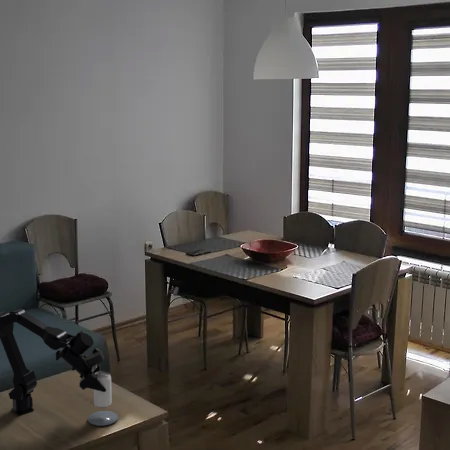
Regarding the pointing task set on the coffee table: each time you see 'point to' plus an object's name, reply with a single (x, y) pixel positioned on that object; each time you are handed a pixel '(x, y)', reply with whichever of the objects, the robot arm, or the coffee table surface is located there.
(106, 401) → the can
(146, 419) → the coffee table surface
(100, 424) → the dish
